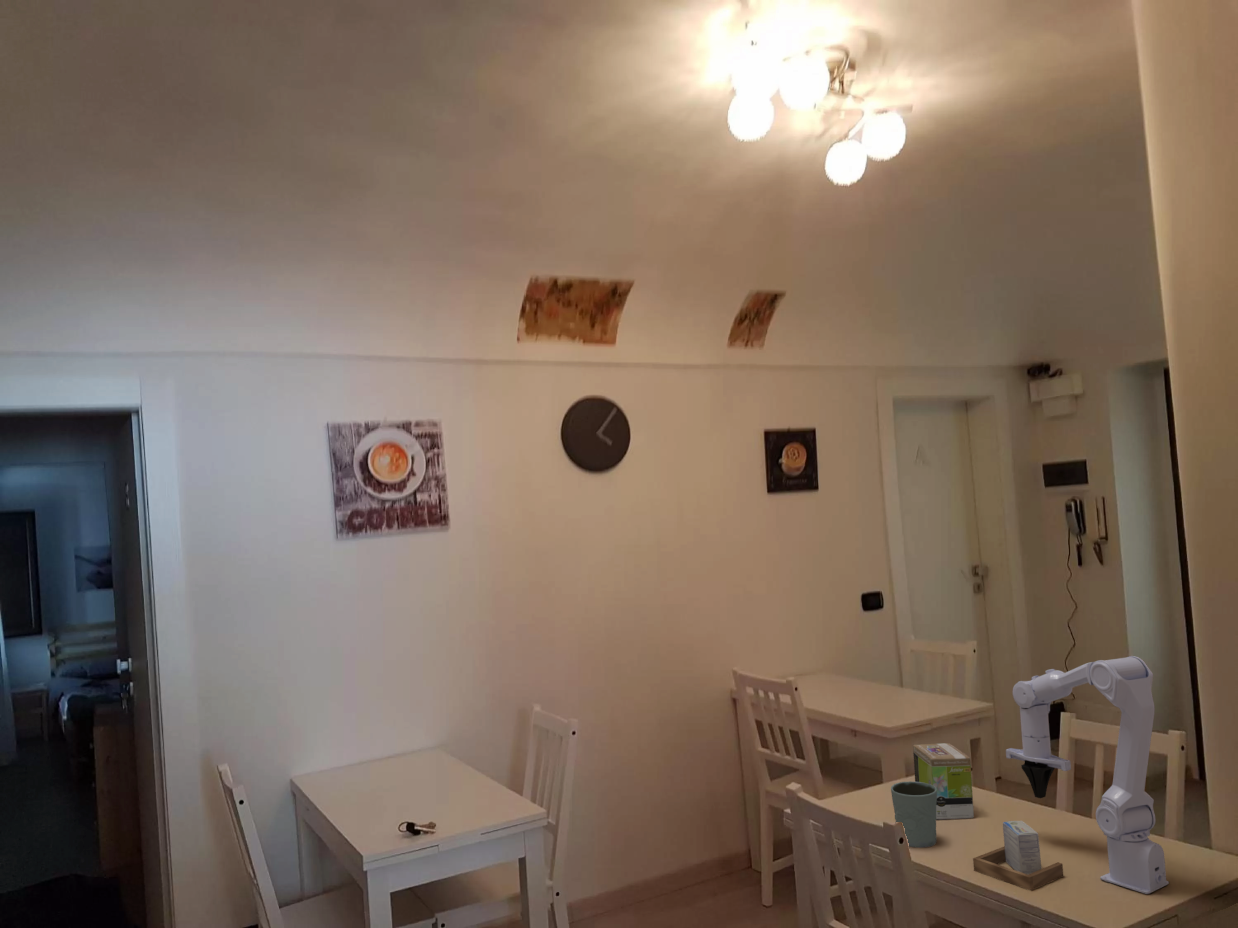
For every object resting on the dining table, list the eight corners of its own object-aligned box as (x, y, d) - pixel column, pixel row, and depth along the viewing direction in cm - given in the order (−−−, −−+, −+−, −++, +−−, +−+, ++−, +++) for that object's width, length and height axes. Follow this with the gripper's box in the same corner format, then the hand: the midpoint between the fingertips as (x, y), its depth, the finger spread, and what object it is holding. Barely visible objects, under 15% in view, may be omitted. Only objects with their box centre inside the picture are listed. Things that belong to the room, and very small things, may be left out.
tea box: (975, 818, 223) (971, 756, 224) (934, 820, 223) (929, 758, 224) (954, 799, 238) (950, 741, 239) (915, 801, 238) (911, 743, 239)
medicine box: (1042, 875, 188) (1039, 832, 188) (1020, 877, 188) (1017, 833, 188) (1026, 861, 196) (1023, 819, 196) (1005, 862, 196) (1002, 820, 196)
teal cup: (924, 830, 216) (920, 778, 217) (950, 845, 207) (946, 790, 207) (885, 836, 214) (882, 784, 214) (910, 851, 204) (906, 796, 205)
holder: (1063, 875, 187) (1062, 863, 187) (1030, 890, 181) (1029, 877, 181) (1006, 857, 198) (1005, 845, 198) (973, 870, 192) (973, 858, 192)
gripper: (1076, 737, 201) (1081, 800, 201) (1017, 726, 214) (1022, 785, 213) (1057, 743, 198) (1062, 807, 197) (998, 731, 210) (1002, 791, 209)
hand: (1040, 796), depth 205 cm, fingers closed
